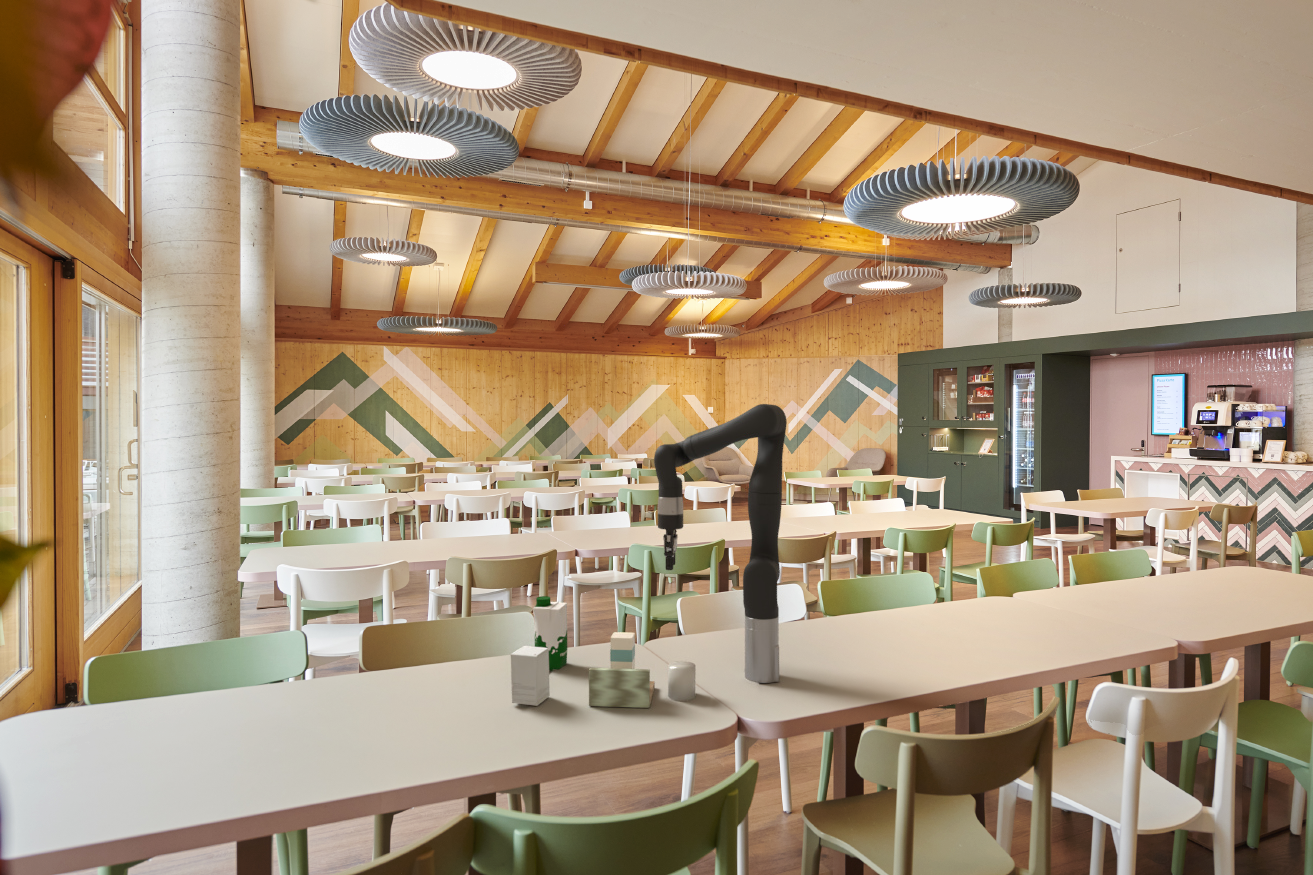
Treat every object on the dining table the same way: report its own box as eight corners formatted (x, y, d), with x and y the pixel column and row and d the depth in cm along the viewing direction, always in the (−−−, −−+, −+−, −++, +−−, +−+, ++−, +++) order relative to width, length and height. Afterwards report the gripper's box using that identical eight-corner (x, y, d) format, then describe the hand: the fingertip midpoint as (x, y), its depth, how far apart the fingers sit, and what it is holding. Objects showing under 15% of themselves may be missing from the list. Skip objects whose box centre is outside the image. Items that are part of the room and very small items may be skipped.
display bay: (654, 688, 205) (654, 654, 205) (649, 707, 191) (649, 671, 191) (598, 686, 206) (598, 653, 206) (589, 705, 192) (588, 669, 192)
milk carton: (541, 660, 229) (540, 593, 228) (571, 662, 227) (570, 594, 226) (531, 670, 220) (530, 601, 219) (561, 672, 218) (560, 602, 217)
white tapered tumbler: (695, 691, 202) (695, 661, 202) (695, 701, 195) (695, 669, 195) (668, 691, 203) (668, 660, 202) (667, 700, 196) (667, 669, 196)
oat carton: (635, 685, 202) (634, 632, 202) (632, 693, 196) (632, 638, 196) (613, 685, 203) (613, 631, 202) (610, 692, 197) (610, 637, 197)
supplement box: (550, 695, 199) (549, 647, 198) (537, 706, 192) (536, 656, 191) (525, 692, 201) (524, 644, 201) (510, 703, 194) (509, 653, 194)
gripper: (681, 514, 219) (681, 572, 220) (684, 509, 234) (684, 563, 234) (655, 514, 220) (655, 571, 220) (659, 509, 234) (660, 563, 234)
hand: (670, 567), depth 227 cm, fingers open, 8 cm apart
